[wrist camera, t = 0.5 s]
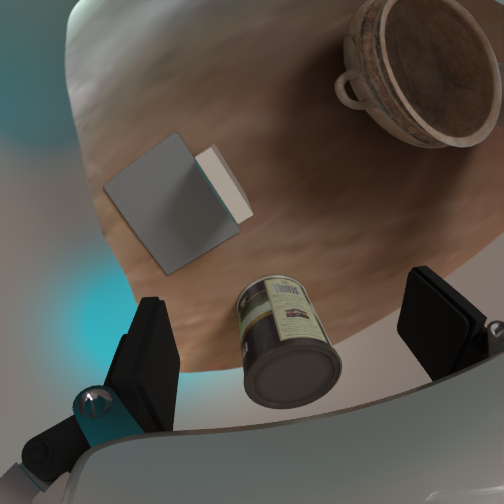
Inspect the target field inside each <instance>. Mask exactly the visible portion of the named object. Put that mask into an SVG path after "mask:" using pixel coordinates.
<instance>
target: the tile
mask: <svg viewBox="0 0 504 504" xmlns="http://www.w3.org/2000/svg"><path fill="white" fill-rule="evenodd" d="M195 159H196V160H195V161H194V163H195V164H196V166H197V167H198V169H199V170H200V172H201V173H202V175H203V177H204V178H205V180H206V181H207V183H208V184H209V186H210V187H211V189H212V190H213V192H214V193H215V195H216V196H217V198H218V200H219V201H220V203H221V204H222V206H223V207H224V209H225V210H226V212H227V213H228V215H229V216H230V218H231V219H232V221H233V222H234V221H236V222H237V223H238V224H239V223H240V222H242V221H244V220H245V219H247V218H249V217H250V216H252V215H253V212H252V210H251V207H250V204H249V201H248V199H247V196H246V194H245V192H244V190H243V189H242V187H241V186H240V184H239V182H238V181H237V179H236V178H235V176H234V174H233V173H232V171H231V170H230V168H229V166H228V165H227V163H226V162H225V160H224V159H223V157H222V155H221V154H220V152H219V151H218V149H217V147H216V146H215V144H213V145H211V146H209V147H208V148H206V149H205V150H203V151H202V152H200V153H199V154H198V155H197V156H196V157H195Z"/></svg>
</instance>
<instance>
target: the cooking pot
mask: <svg viewBox="0 0 504 504" xmlns="http://www.w3.org/2000/svg"><path fill="white" fill-rule="evenodd" d="M343 52H344V63H345V68H346V72H344V73H343V74H341V75H340V76H339V77H338V78H337V80H336V82H335V85H334V89H335V92H336V95H337V97H338V99H339V100H340V101H341V102H342V103H343V104H344V105H345V106H347V107H349V108H352V109H356V110H366V112H367V113H368V114H369V115H370V116H371V117H372V118H373V119H374V120H375V122H376V123H377V124H378V125H380V126H381V127H382V128H383V129H384V130H386V131H387V132H388V133H389V134H391V135H393V136H394V137H396V138H398V139H399V140H401V141H403V142H406V143H408V144H411V145H414V146H418V147H424V148H443V147H448V146H455V147H470V146H473V145H476V144H478V143H480V142H481V141H483V140H484V139H485V138H486V137H487V136H488V135H489V134H490V133H491V131H492V130H493V128H494V126H495V124H496V122H497V119H498V116H499V113H500V108H501V100H502V86H501V77H500V72H499V67H498V63H497V60H496V57H495V54H494V52H493V49H492V47H491V45H490V42H489V41H488V39H487V37H486V35H485V33H484V32H483V30H482V29H481V27H480V26H479V24H478V23H477V22H476V20H475V19H474V18H473V17H472V16H471V15H470V13H469V12H468V11H467V10H466V9H465V8H464V7H462V6H461V5H460V4H459V3H458V2H457V1H455V0H368V1H366V2H365V3H364V4H363V5H362V6H360V7H359V8H358V9H357V10H356V11H355V13H354V14H353V16H352V17H351V19H350V21H349V23H348V26H347V29H346V32H345V37H344V45H343ZM347 81H350V84H351V87H352V89H353V91H354V93H355V95H356V97H357V98H358V100H359V101H354V100H352V99H350V98H349V97H348V95H347V94H346V92H345V89H344V85H345V83H346V82H347Z"/></svg>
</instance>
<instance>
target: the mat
mask: <svg viewBox="0 0 504 504" xmlns="http://www.w3.org/2000/svg"><path fill="white" fill-rule="evenodd" d="M194 161H195V159H194V157H193V156H192V154H191V153H190V151H189V150H188V148H187V147H186V145H185V144H184V142H183V141H182V139H181V137H180V136H179V134H178V133H177V132H176V133H174V134H173V135H171V136H170V137H168V138H167V139H165V140H164V141H163V142H161V143H160V144H158V145H157V146H155V147H154V148H153V149H151V150H150V151H148V152H147V153H146V154H144V155H143V156H142V157H140V158H139V159H138V160H136V161H135V162H134V163H132V164H131V165H130V166H128V167H127V168H126V169H124V170H123V171H122V172H121V173H119V174H118V175H117V176H116V177H114V178H113V179H112V180H111V181H109V182H108V183H107V184H106V185H104V186H103V187H104V189H105V190H106V192H107V193H108V194H109V196H110V197H111V199H112V200H113V202H114V203H115V205H116V206H117V208H118V209H119V210H120V212H121V213H122V215H123V216H124V217H125V219H126V220H127V222H128V223H129V224H130V226H131V227H132V229H133V230H134V231H135V233H136V234H137V235H138V237H139V238H140V240H141V241H142V242H143V244H144V245H145V246H146V248H147V249H148V250H149V252H150V253H151V254H152V256H153V257H154V258H155V259H156V261H157V262H158V263H159V265H160V266H161V267H162V269H163V270H164V271H165V272H166V274H167V275H170V274H171V273H173V272H174V271H176V270H178V269H179V268H181V267H183V266H184V265H186V264H187V263H189V262H191V261H192V260H194V259H196V258H197V257H199V256H201V255H202V254H204V253H206V252H207V251H209V250H210V249H212V248H214V247H215V246H217V245H219V244H220V243H222V242H224V241H225V240H227V239H229V238H230V237H232V236H234V235H235V234H237V233H239V232H240V231H241V230H240V228H239V227H238V225H237V224H236V222H235V221H234V222H233V221H232V219H231V218H230V216H229V215H228V213H227V212H226V210H225V209H224V207H223V206H222V204H221V203H220V201H219V200H218V198H217V196H216V195H215V193H214V192H213V190H212V189H211V187H210V186H209V184H208V183H207V181H206V180H205V178H204V177H203V175H202V173H201V172H200V170H199V169H198V167H197V166H196V164H195V163H194Z"/></svg>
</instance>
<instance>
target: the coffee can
mask: <svg viewBox="0 0 504 504" xmlns="http://www.w3.org/2000/svg"><path fill="white" fill-rule="evenodd" d="M237 316H238V323H239V332H240V341H241V351H242V361H243V369H244V388H245V391H246V393H247V395H248V396H249V398H250V399H252V400H253V401H254V402H255V403H257V404H259V405H261V406H264V407H267V408H272V409H292V408H296V407H301V406H304V405H307V404H309V403H312V402H314V401H316V400H318V399H319V398H321V397H322V396H324V395H325V394H327V393H328V392H329V391H330V390H331V389H332V388H333V387H334V385H335V384H336V383H337V381H338V380H339V377H340V375H341V371H342V363H341V359H340V357H339V355H338V354H337V352H336V351H335V349H334V348H333V346H332V344H331V342H330V340H329V338H328V335H327V333H326V331H325V329H324V327H323V325H322V323H321V321H320V319H319V317H318V315H317V313H316V311H315V309H314V307H313V305H312V303H311V301H310V299H309V297H308V294H307V292H306V290H305V288H304V287H303V285H302V284H301V283H299V282H298V281H297V280H295V279H293V278H291V277H288V276H283V275H270V276H265V277H262V278H260V279H257V280H255V281H254V282H252V283H250V284H249V285H248V286H247V287H246V288H245V289H244V290H243V292H242V293H241V294H240V296H239V299H238V302H237Z"/></svg>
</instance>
